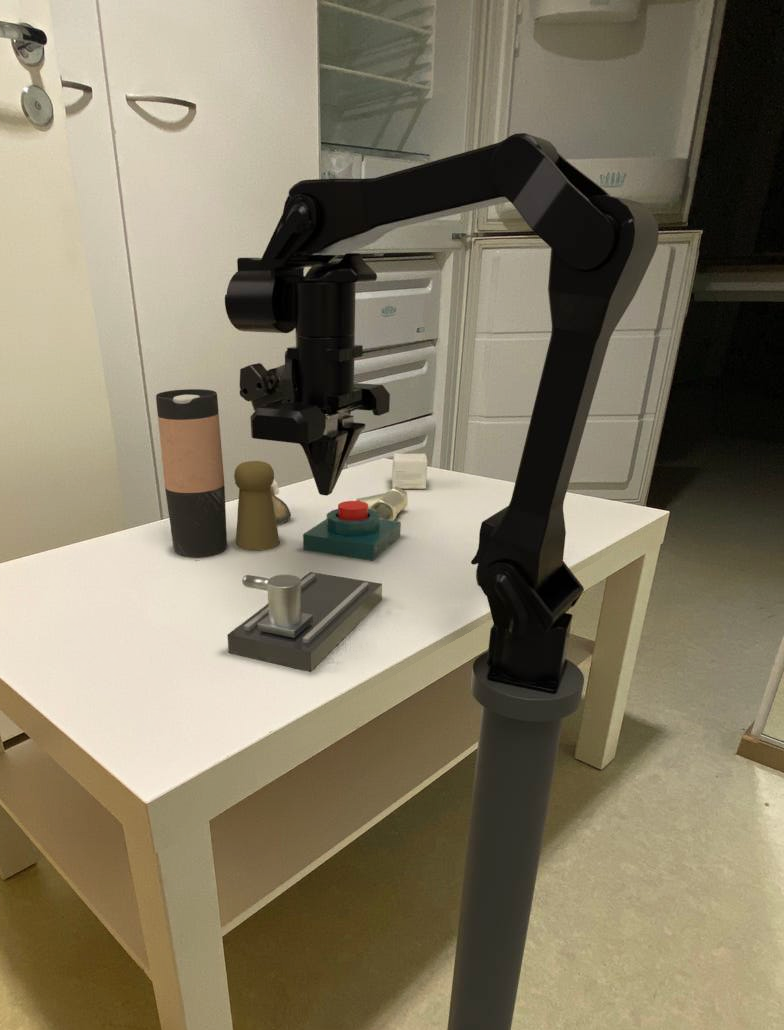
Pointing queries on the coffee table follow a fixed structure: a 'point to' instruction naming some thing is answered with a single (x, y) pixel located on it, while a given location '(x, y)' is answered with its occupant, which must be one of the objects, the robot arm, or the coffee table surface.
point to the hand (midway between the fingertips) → (325, 494)
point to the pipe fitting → (387, 503)
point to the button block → (352, 536)
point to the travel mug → (193, 470)
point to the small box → (409, 471)
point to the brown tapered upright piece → (255, 507)
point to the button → (353, 510)
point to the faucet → (281, 604)
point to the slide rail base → (333, 619)
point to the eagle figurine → (278, 505)
